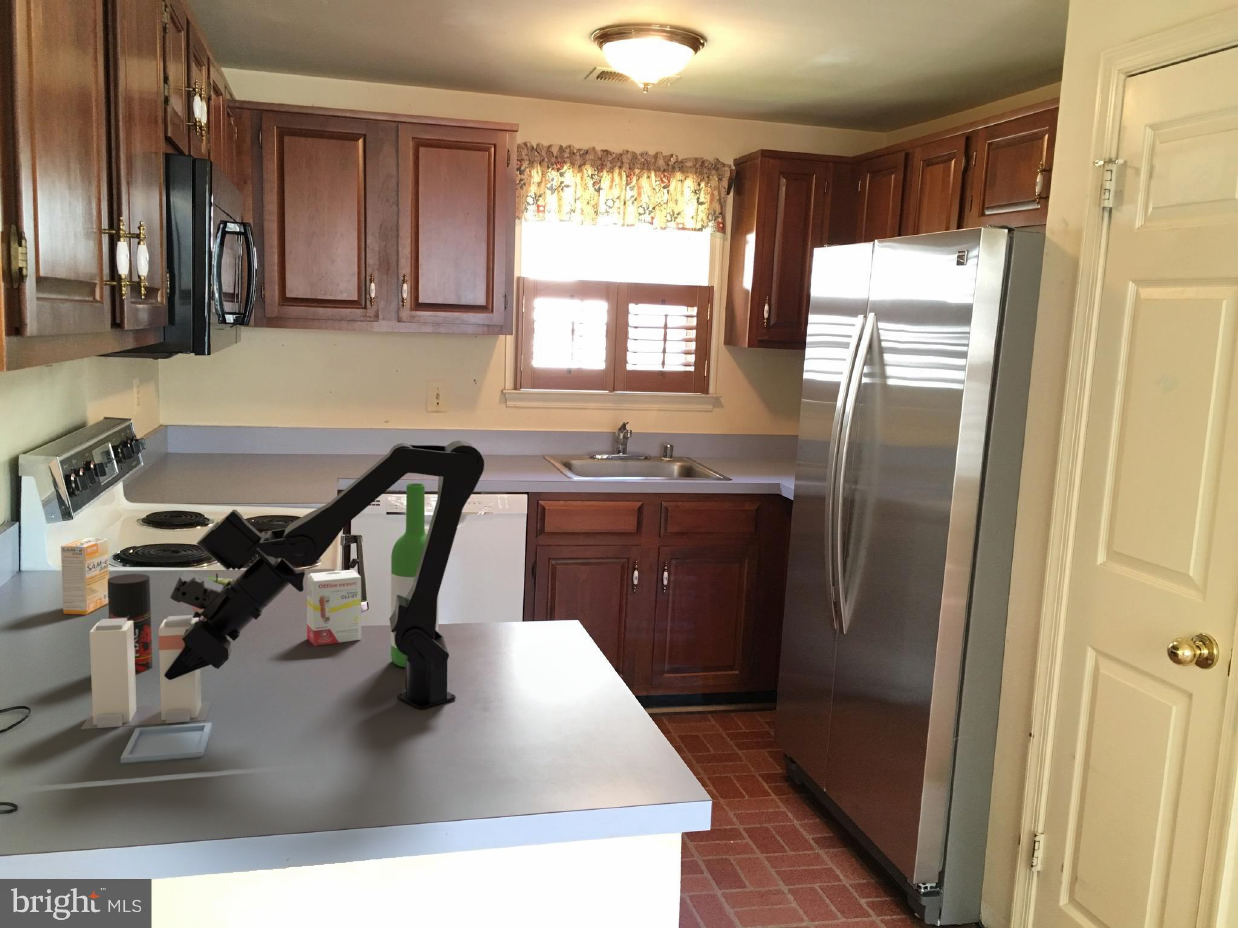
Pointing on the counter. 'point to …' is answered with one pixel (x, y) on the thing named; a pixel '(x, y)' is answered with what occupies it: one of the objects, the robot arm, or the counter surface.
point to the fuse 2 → (178, 690)
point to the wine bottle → (408, 555)
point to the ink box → (333, 607)
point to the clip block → (147, 717)
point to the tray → (167, 743)
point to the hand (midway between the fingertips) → (169, 671)
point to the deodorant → (133, 613)
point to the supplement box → (85, 575)
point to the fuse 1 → (113, 668)
